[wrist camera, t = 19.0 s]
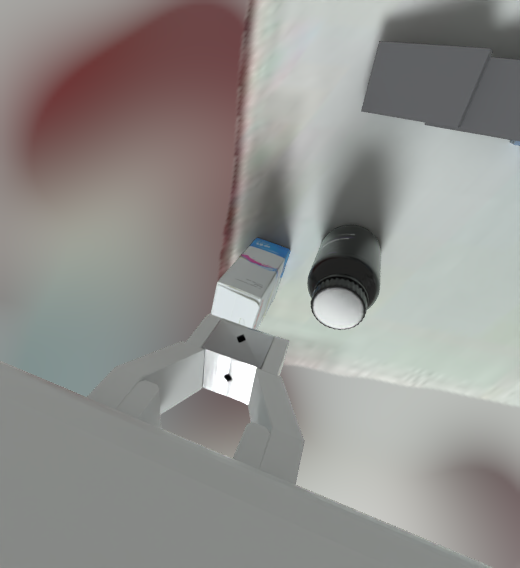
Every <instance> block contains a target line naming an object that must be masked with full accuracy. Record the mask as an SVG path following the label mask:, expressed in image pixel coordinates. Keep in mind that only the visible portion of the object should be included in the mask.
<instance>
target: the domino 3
mask: <svg viewBox="0 0 520 568" xmlns="http://www.w3.org/2000/svg"><path fill="white" fill-rule="evenodd" d="M510 143H512V144H514V145H519V146H520V141H515V140H511V141H510Z"/></svg>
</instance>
